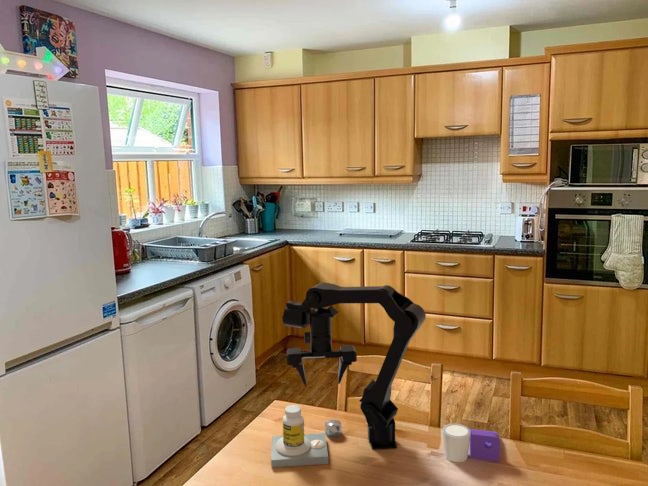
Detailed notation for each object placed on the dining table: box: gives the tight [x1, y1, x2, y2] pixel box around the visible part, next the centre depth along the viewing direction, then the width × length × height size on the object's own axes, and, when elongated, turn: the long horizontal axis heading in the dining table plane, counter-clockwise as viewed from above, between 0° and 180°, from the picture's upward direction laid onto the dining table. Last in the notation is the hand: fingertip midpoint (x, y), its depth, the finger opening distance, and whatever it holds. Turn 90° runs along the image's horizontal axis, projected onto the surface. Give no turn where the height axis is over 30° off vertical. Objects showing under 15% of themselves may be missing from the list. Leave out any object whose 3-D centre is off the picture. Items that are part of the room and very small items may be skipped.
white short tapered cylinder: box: [442, 423, 471, 463], centre depth 133 cm, size 7×7×7 cm
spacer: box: [324, 418, 342, 439], centre depth 145 cm, size 4×4×3 cm
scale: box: [270, 432, 329, 469], centre depth 136 cm, size 14×11×3 cm
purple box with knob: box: [469, 428, 501, 463], centre depth 136 cm, size 12×7×7 cm, turn 166°
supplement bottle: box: [282, 404, 305, 449], centre depth 135 cm, size 5×5×10 cm
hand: (322, 384), depth 145 cm, fingers open, 9 cm apart
